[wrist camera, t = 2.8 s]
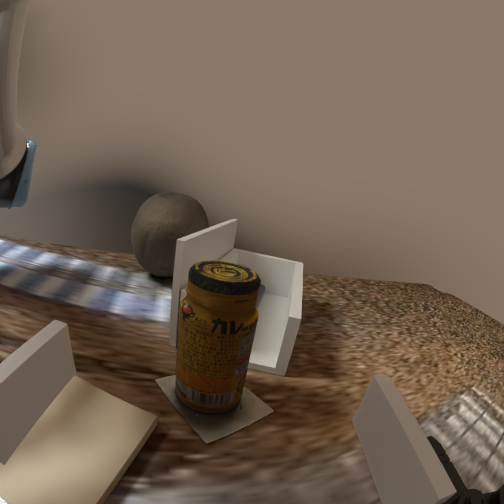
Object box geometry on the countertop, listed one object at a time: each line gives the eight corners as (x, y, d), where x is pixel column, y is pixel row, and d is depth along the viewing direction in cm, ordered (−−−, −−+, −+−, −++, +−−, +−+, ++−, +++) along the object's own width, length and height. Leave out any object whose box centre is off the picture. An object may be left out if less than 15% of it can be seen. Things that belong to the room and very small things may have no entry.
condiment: (217, 363, 28) (234, 254, 25) (274, 412, 22) (310, 290, 19) (154, 381, 23) (157, 257, 20) (206, 446, 17) (224, 308, 14)
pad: (-54, 424, 6) (-59, 416, 6) (39, 358, 20) (37, 350, 19) (68, 552, 4) (62, 549, 4) (158, 423, 18) (157, 415, 17)
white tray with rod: (169, 344, 29) (176, 239, 26) (222, 284, 50) (233, 218, 47) (284, 376, 27) (314, 268, 24) (294, 300, 48) (309, 234, 45)
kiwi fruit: (112, 272, 45) (117, 187, 41) (164, 260, 58) (172, 189, 54) (168, 301, 39) (179, 198, 36) (219, 280, 52) (231, 200, 49)
